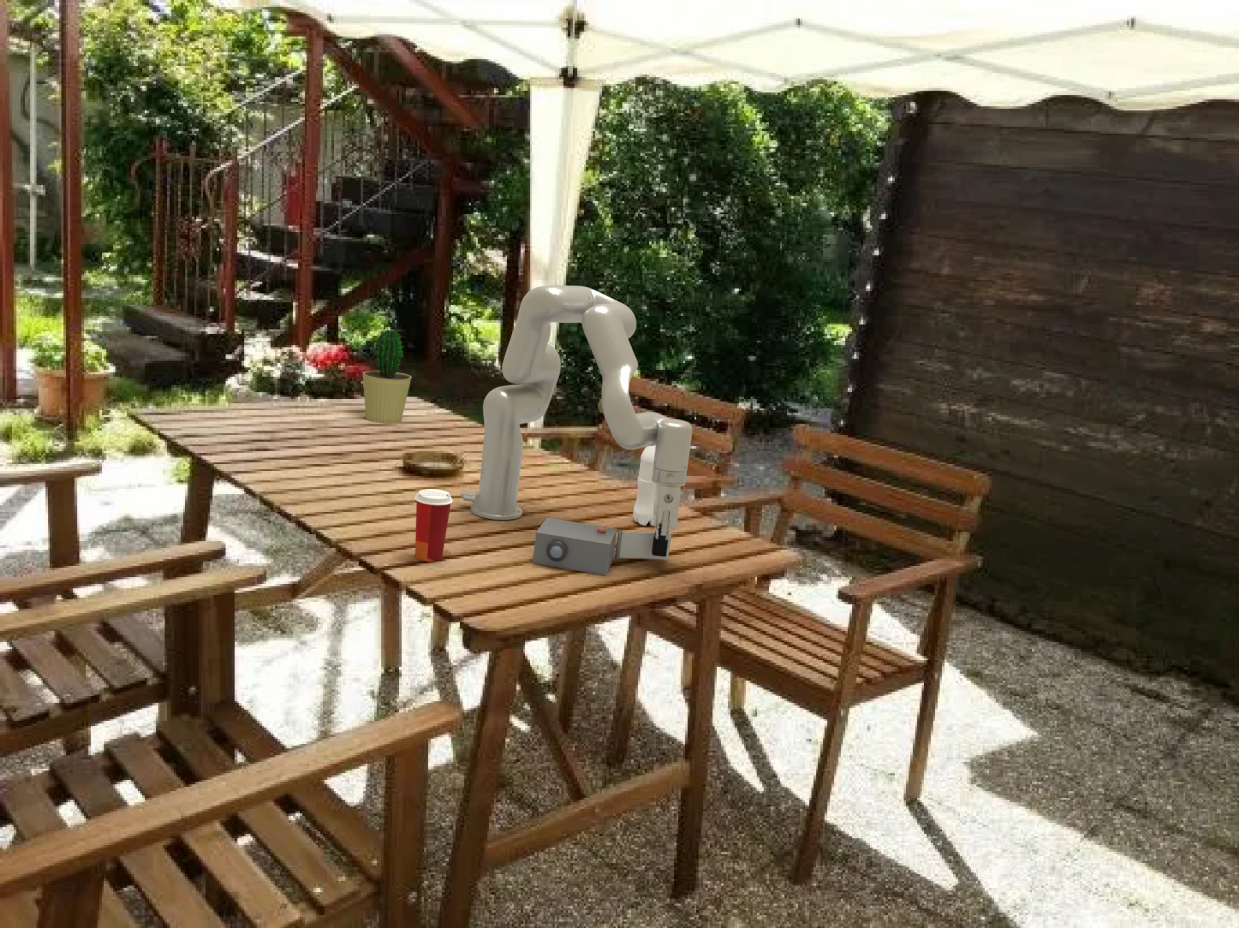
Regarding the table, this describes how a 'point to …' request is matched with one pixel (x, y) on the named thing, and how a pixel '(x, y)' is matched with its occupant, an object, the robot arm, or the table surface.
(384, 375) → the potted cactus
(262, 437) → the table surface
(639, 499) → the water bottle
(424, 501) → the paper cup
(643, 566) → the table surface
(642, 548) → the side door
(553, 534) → the camera body
